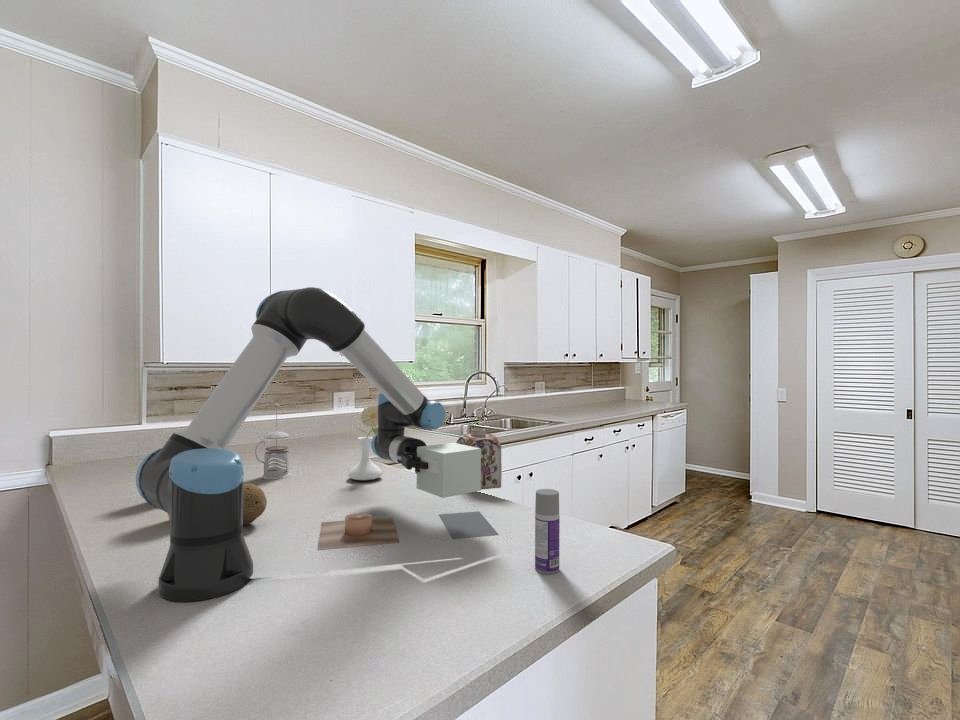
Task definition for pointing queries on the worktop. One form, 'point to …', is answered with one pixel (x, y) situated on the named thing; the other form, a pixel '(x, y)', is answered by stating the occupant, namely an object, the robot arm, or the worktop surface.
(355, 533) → the bowl
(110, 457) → the worktop surface
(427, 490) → the pale mint green cube
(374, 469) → the flower in vase
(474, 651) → the worktop surface
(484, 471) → the decorative jar
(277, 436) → the french press
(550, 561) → the container
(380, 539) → the board
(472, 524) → the mat
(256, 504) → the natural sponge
